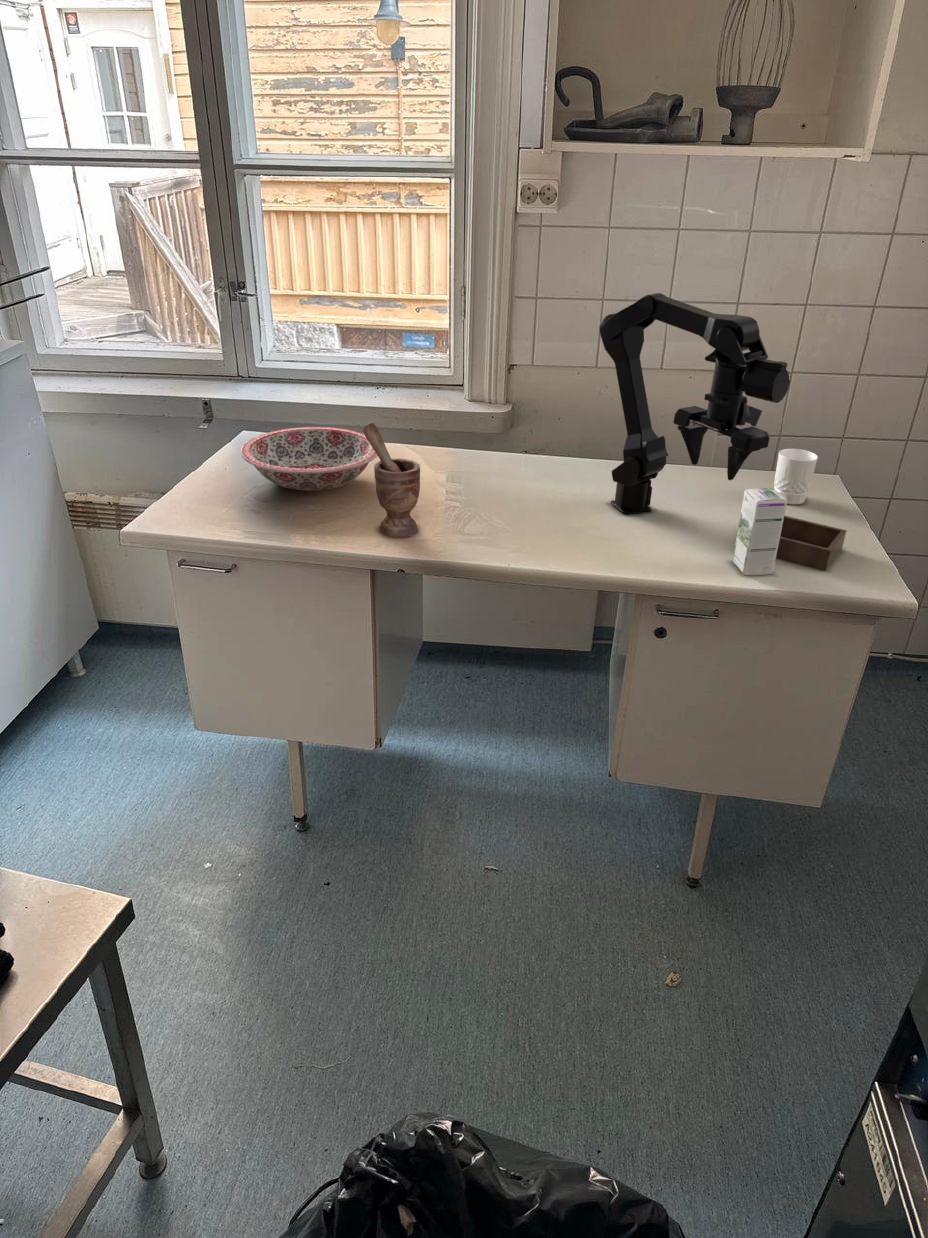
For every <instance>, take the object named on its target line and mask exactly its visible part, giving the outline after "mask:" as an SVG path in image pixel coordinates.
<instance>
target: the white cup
mask: <svg viewBox="0 0 928 1238" xmlns="http://www.w3.org/2000/svg"><path fill="white" fill-rule="evenodd" d="M818 460H819V456H818V455H817V454H816V453H815V452H812V451H809V450H806V449H801V448H784V449H781V450H780V449H779V451H778V456H777V462H776V466H775V467H776V469H775V472H774V473H775V474H774V475H775V476H774V482H773V485H774V486H773V489H775V490H776V491H777V492H778V493H780V494H781V495H782V496H783V497H784V498H785V499H787V505H802V504H804V503H805V502H806V500H807V496H808V492H809V491H810V490H809V489H810V487H811V484H812V480H813V478H814V474H815V470H816V466H817V463H818Z"/></svg>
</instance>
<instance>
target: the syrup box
mask: <svg viewBox="0 0 928 1238" xmlns="http://www.w3.org/2000/svg"><path fill="white" fill-rule="evenodd" d="M787 505H788V504H787V499H785V498H784V497H783V496H782V495H781V494H780V493H778V492H777V491H776V490H775V489H774V487H755V488H747V489H744V492H743V498H742V504H741V509H740V516H739V521H738V526H737V531H736V532H737V533H736V538H735V544H734V549H733V554H732V559H731V562H732V564H733V565H734V566H735V567H736V568H737V569H738V570H739V571H740V572H741V574H742V575H744V576H765V575H768V576H769V575H773V574H774V569H775V565H776V560H777V558H776V555H777V550H778V545H779V540H780V537H781V536H780V535H781V530H782V525H783V520H784V516H786V509H787Z"/></svg>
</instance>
